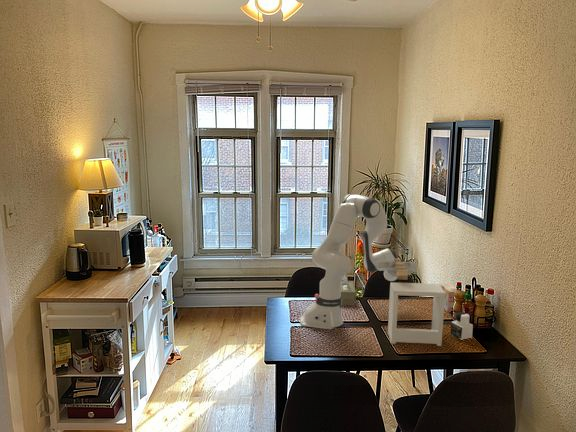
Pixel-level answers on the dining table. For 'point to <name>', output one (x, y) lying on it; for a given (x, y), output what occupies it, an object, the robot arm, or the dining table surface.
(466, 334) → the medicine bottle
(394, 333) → the white stand
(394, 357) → the dining table surface
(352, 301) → the tissue box
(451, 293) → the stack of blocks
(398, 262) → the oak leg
